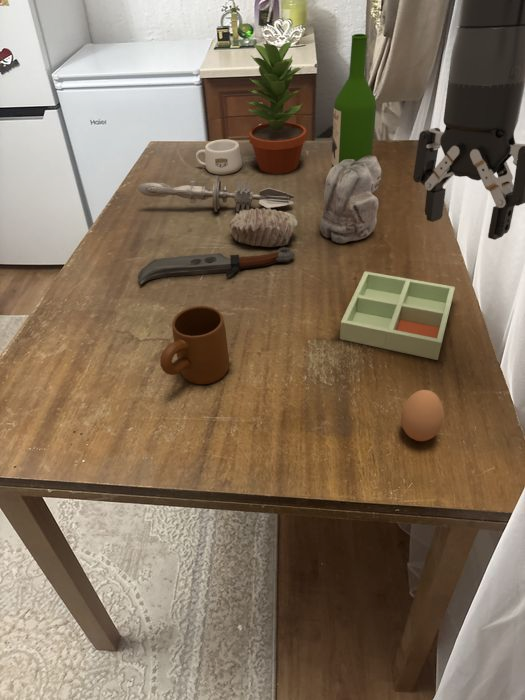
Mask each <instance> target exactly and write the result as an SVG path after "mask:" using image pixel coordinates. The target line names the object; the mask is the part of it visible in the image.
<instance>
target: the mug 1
mask: <svg viewBox="0 0 525 700" xmlns="http://www.w3.org/2000/svg"><path fill="white" fill-rule="evenodd" d="M171 328H172V338H173V342H170V343H169V344H168V345H167V346H165V348H163V351H162V352H161V355H160V359H159V360H160V361H159V363H160V367H161V369H162V371H163V372H164V373H165V374H166V375H169V376H170V375H171V376H174V375H178V374H180V373H181V375H182V377H183V378H184V379H185V380H187V382H190V383H192V384H196V385H209V384H212V383H215V382H218V381H219V380H221V379H222V378H224V377H225V376H226V374H227V372H228V370H229V369H230V368H229V367H230V358H229V357H230V356H229V348H228V339H227V330H226V324H225V320H224V317H223V314H222V313H221V311H219V310H217V309H216V308H214V307H211V306H206V305H196V306H195V305H194V306H191V307H188V308H185V309H183V310H181V311H180V312H178V313H177V314H176V315H174V317H173V319H172V323H171ZM175 355H176V357H177V359H175V360H174V361H173V358H174V357H175Z"/></svg>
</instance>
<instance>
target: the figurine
mask: <svg viewBox="0 0 525 700" xmlns="http://www.w3.org/2000/svg"><path fill="white" fill-rule="evenodd" d="M381 178H382V168H381V165H380V162H379V161H378V158H377V157H376V156H375V155H373V154H372V155H368V156H365V157H363V158H361V159H360V160H358V161H357V162H356V161H355V160H353V159H346V160H343V161H342V162H340V163H339V164H338V165H336V166H334V167H332V166H331V167H330V170H329V172H328V174H327V176H326V178H325V183H324V188H323V189H324V190H323V205H324V207H323V213H322V216H321V219H320V224H319V225H320V226H319V230H320V233H321V235H322V236H323V237H325V238H326V239H331V241H332V242H333V243H335V244H347V243H348V242H355V241H359V240H363V239H366V238H367V237H368V236H370V235H371V234H372V232H374V230H375V227H376V225H377V215H378V209H379V199H378V198H377V196H376V195H374V194H373V193H374V192H375V191H376V190H378V188H379V182H380V181H381Z"/></svg>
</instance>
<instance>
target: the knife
mask: <svg viewBox="0 0 525 700" xmlns="http://www.w3.org/2000/svg"><path fill="white" fill-rule="evenodd" d="M229 257H230V258H229ZM229 257H226V256H225V255H224V254H223V253H220V252H217V253H205V254H191V255H181V256H172V257H162V258H154V259H153V260H152V261H150V262H149V263H148V264H146V265H145V266H144V267H142V269H140V271H139V273H138V274H137V280H138V283H139V285H143V284H144V283H146V282H148V281H150V280H155V279H162V278H171V277H183V276H196V275H210V274H211V275H212V274H224V273H225V277H226V278H228V277H231V276H233V275H234V274H238V273H241V270H242V269H252V268H260V267H266V266H269V265H272V264H276V263H288V262H290V261H291V260H292V259H293V258H294V257H295V256H294V252H293V251H292V250H291V249H290V248H289V247H287V246H282V247H280V248H279V249H277V250H275V252H271V253H267V254H261V255H259V254H258V255H249V256H240V254H230V255H229Z"/></svg>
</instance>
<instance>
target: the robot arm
mask: <svg viewBox="0 0 525 700" xmlns="http://www.w3.org/2000/svg"><path fill="white" fill-rule="evenodd" d="M459 2H460V3H459V8H458V9H459V10H458V19H457V27H456V32H455V38H454V42H453V45H452V50H451V55H450V64H449V72H448V79H447V88H446V96H445V105H444V112H443V124H444V125H445V128H444V131H441V129H440V128H439V127H433V128H429V129H426V130H422V131H421V132H420V133H419V135H418V142H417V149H416V155H415V161H414V162H415V163H414V170H413V181H414V182H415V183H420V184H422V185H423V186H424V189H425V190H426V195H425V206H424V215H425V216H426V221H427V222H431V223H433V222H437V221H439V220H441V219H442V218H443V213H444V207H445V206H444V204H445V200H446V199H445V198H446V192H447V191H446V190H447V188H444V186H445V184H447V183H448V182H449V181H450V180H451V178H452V177H453V176H454V177H459V178H461V177H467V178H469V179H470V180H474V181H481V182H482V184H483V187H484V188H485V190H486V191H489V192H490V195H491V197H492V199H493V202H494V205H495V206H493V207H492V212H491V218H490V223H489V228H488V232H487V233H488V234H487V238H488V239H490V240H494V241H495V240H497V239H500V238H502V237H503V236H504V235H506V234H507V233H508V232H509V231H510V228H511V225H512V220H513V216H514V215H513V214H514V210H515V207H518V206H522V205H524V204H525V143H516V139H515V130H516V128H517V125H518V123H519V118H520V114H521V109H522V103H523V99H524V98H523V97H524V94H525V0H460V1H459ZM440 148H441V149H442V152H443V154H444V157H443V158H442V159H441V160H440V162H438V164H437V161H438V153H439V149H440ZM511 157H512V158H513V160H512V164H514V166H515V173H514V177H513V173H512V172H511V169H510V167H509V165H508V162H507V161H508V160H509V159H510V158H511ZM436 164H437V165H436ZM495 174H496V175H497V176H496V175H495Z"/></svg>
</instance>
